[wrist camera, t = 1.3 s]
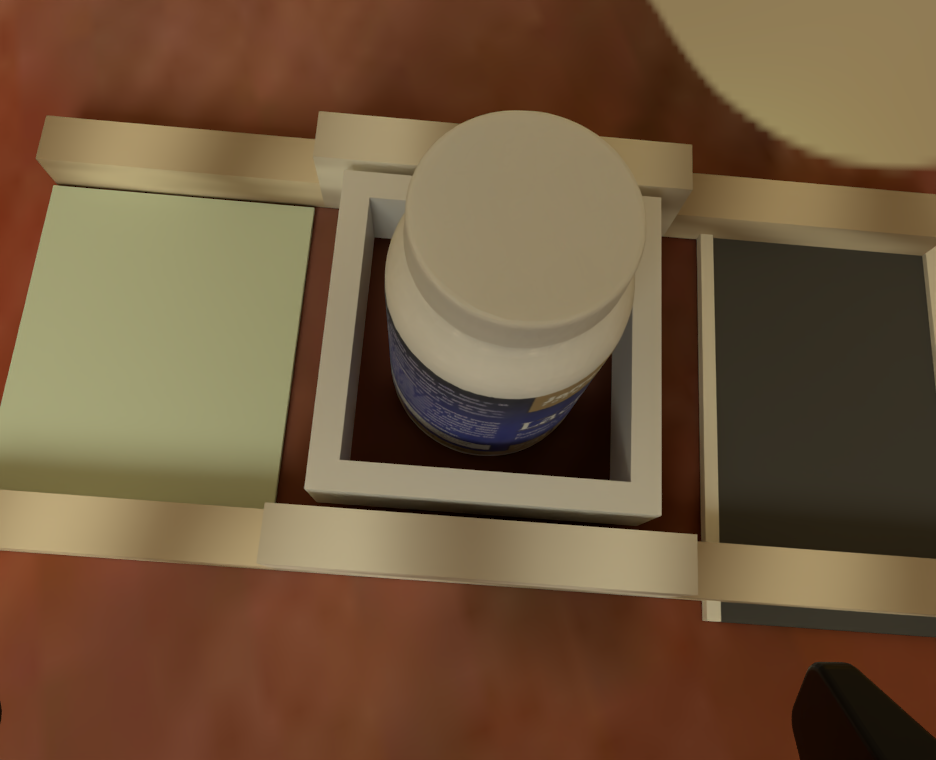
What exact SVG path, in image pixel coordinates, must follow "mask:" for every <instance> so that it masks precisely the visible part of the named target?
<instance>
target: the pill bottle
mask: <svg viewBox="0 0 936 760" xmlns="http://www.w3.org/2000/svg"><path fill="white" fill-rule="evenodd" d="M645 241H646V212H645V206H644V201H643V198H642V194H641V191H640V189H639V187H638V184H637V182H636V180H635V178H634V176H633V174H632V172H631V171H630V169H629V167H628V166H627V165H626V163H625V162H624V160H623V159H622V158H621V157H620V155H619V154H618V153H617V152H616V151H615V150H614V149H613V148H612V147H611V146H610V145H609V144H608V143H607V142H606V141H604V140H603V139H602V138H600V137H599V136H598V135H597V134H595V133H594V132H592V131H590V130H589V129H587V128H585V127H584V126H582V125H580V124H578V123H576V122H573V121H571V120H569V119H566V118H563V117H560V116H557V115H553V114H549V113H544V112H538V111H521V110H511V111H499V112H493V113H488V114H485V115H481V116H478V117H475V118H472V119H470V120H468V121H465V122H463V123H461V124H459V125H457V126H456V127H454V128H453V129H451V130H450V131H448V132H446V133H445V134H444V135H443V136H442V137H440V138H439V139H438V140H437V141H436V142H435V143H434V144H433V145H432V146H431V147H430V148H429V150H428V151H427V152H426V153H425V154H424V156H423V157H422V159H421V160H420V162H419V164H418V165H417V167H416V169H415V171H414V174H413V176H412V178H411V181H410V184H409V186H408V191H407V196H406V203H405V213H404V214H403V216H402V218H401V219H400V221H399V223H398V225H397V227H396V229H395V231H394V234H393V236H392V239H391V242H390V246H389V250H388V253H387V259H386V266H385V302H386V313H387V324H388V336H389V350H390V362H391V372H392V378H393V382H394V386H395V389H396V392H397V395H398V398H399V400H400V402H401V404H402V406H403V408H404V409H405V411H406V412H407V414H408V415H409V417H410V418H411V419H412V421H413V422H414V423H415V424H416V425H417V426H418V427H419V428H420V429H421V430H422V431H423V432H424V433H425V434H427V435H428V436H429V437H431V438H432V439H433V440H435V441H436V442H438V443H440V444H442V445H444V446H446V447H448V448H450V449H453V450H455V451H458V452H462V453H465V454H471V455H478V456H498V455H506V454H510V453H515V452H518V451H521V450H524V449H526V448H528V447H530V446H532V445H534V444H536V443H538V442H539V441H541V440H542V439H544V438H545V437H546V436H548V435H549V434H550V433H551V432H552V431H553V430H554V429H555V428H557V426H558V425H559V424H560V423H561V422H562V421H563V419H564V418H565V417H566V416H567V414H568V413H569V412H570V410H571V409H572V407H573V406H574V405H575V403H576V402H577V400H578V399H579V397H580V396H581V395H582V394H583V392H584V391H585V389H586V388H587V387H588V385H589V384H590V382H591V381H592V380H593V378H594V377H595V375H596V374H597V373H598V371H599V370H600V369H601V367H602V366H603V364H604V363H605V362H606V360H607V359H608V358H609V356H610V355H611V354H612V352H613V350H614V349H615V347H616V346H617V344H618V342H619V340H620V338H621V337H622V334H623V332H624V330H625V328H626V325H627V322H628V319H629V316H630V313H631V310H632V306H633V300H634V292H635V272H636V270H637V268H638V265H639V263H640V260H641V258H642V254H643V251H644V246H645Z"/></svg>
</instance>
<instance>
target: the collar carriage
mask: <svg viewBox="0 0 936 760" xmlns="http://www.w3.org/2000/svg"><path fill="white" fill-rule="evenodd" d="M411 178H412V176H410V175H398V174H387V173H376V172H364V171H353V170H344V175H343V183H342V191H341V199H340V207H339V215H338V223H337V231H336V239H335V247H334V255H333V263H332V271H331V279H330V287H329V295H328V303H327V311H326V319H325V327H324V335H323V343H322V351H321V359H320V367H319V375H318V383H317V391H316V398H315V406H314V414H313V422H312V430H311V438H310V446H309V454H308V462H307V470H306V478H305V486H304V489H305V490H306V491H307V492H308V493H309V494H310V496H311V497H312V498H313V499H314V500H315V501H316V502H319V503H333V504H346V505H360V506H373V507H386V508H400V509H413V510H427V511H440V512H454V513H467V514H480V515H494V516H507V517H521V518H534V519H547V520H561V521H574V522H588V523H601V524H615V525H628V526H638V525H641V524H643V523H645V522H648V521H650V520H652V519H655V518H657V517H659V516H662V386H661V197H649V196H642V198H643V201H644V206H645V212H646V241H645V246H644V251H643V254H642V258H641V260H640V263H639V265H638V268H637V270H636V272H635V292H634V300H633V306H632V310H631V313H630V316H629V319H628V322H627V325H626V328H625V330H624V332H623V334H622V337H621V338H620V340H619V342H618V344H617V346H616V347H615V349H614V350H613V352H612V383H611V440H610V480H597V479H584V478H571V477H558V476H545V475H532V474H519V473H506V472H492V471H479V470H466V469H453V468H440V467H427V466H414V465H401V464H388V463H374V462H361V461H350V456H351V447H352V438H353V429H354V420H355V411H356V402H357V393H358V384H359V375H360V365H361V356H362V347H363V338H364V329H365V320H366V311H367V302H368V293H369V284H370V275H371V266H372V257H373V248H374V239H375V237H376V238H388V239H392V236H393V234H394V231H395V229H396V227H397V225H398V223H399V221H400V219H401V218H402V216H403V214H404V213H405V203H406V196H407V191H408V186H409V184H410V181H411Z"/></svg>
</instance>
